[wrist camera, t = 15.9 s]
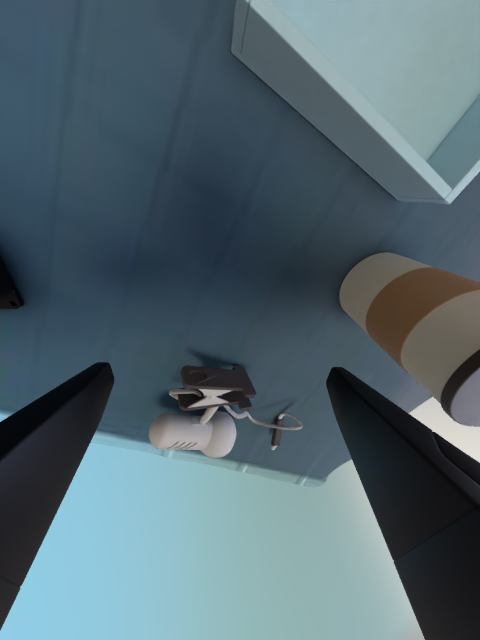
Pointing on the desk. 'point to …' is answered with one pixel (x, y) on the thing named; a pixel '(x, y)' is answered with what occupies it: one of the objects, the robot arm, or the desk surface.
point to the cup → (422, 325)
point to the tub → (377, 82)
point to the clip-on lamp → (209, 412)
